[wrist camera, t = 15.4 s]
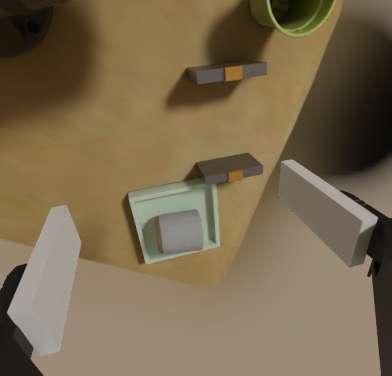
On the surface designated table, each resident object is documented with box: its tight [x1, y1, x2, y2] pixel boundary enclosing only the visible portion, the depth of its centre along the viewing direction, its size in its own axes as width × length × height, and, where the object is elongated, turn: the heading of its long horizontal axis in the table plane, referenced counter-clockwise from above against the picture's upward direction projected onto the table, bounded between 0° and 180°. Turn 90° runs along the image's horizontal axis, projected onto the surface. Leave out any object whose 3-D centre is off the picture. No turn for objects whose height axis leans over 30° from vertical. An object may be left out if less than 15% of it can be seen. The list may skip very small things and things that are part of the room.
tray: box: [128, 178, 220, 264], centre depth 51 cm, size 16×16×2 cm
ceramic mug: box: [155, 209, 204, 254], centre depth 49 cm, size 11×8×8 cm
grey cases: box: [187, 60, 267, 185], centre depth 42 cm, size 10×17×6 cm, turn 5°
